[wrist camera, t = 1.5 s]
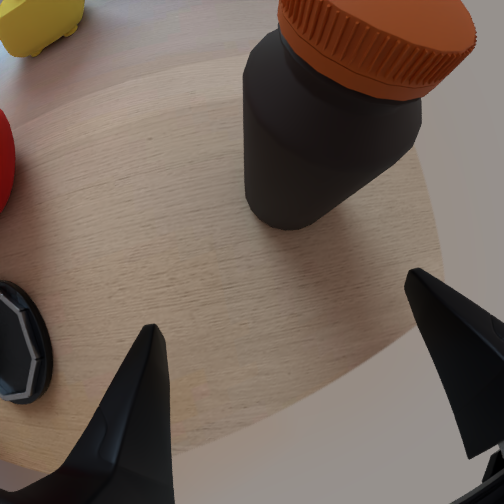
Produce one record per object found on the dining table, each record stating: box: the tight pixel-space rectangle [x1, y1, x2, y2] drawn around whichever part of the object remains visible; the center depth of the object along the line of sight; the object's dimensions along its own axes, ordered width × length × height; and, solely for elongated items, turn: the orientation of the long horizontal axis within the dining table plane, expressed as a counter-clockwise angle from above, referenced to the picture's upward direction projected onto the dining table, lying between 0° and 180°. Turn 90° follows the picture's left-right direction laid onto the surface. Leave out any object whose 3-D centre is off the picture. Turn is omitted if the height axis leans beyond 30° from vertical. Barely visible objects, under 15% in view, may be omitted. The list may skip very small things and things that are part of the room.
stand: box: [0, 280, 53, 404], centre depth 22 cm, size 13×13×2 cm
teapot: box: [0, 0, 85, 57], centre depth 20 cm, size 18×11×11 cm, turn 111°
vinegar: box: [243, 0, 477, 230], centre depth 14 cm, size 7×7×20 cm
